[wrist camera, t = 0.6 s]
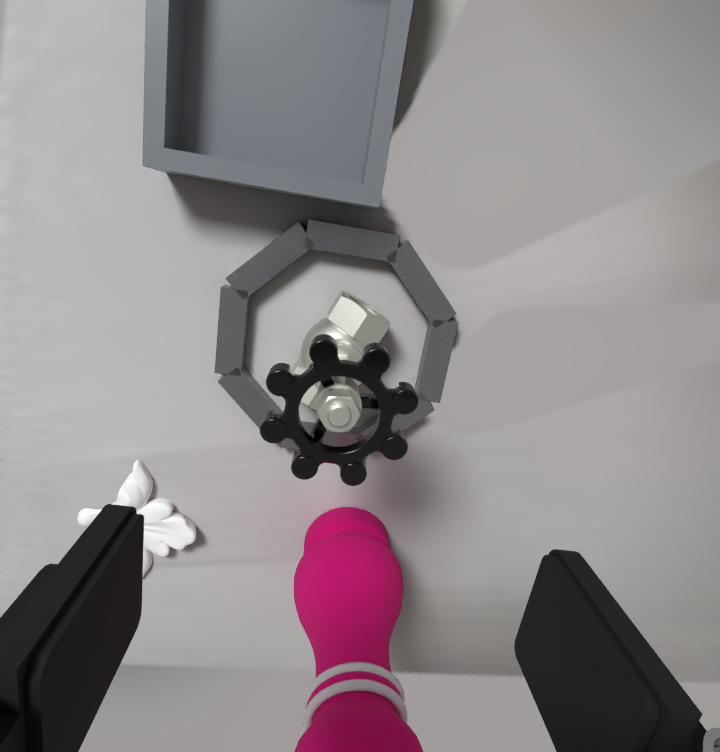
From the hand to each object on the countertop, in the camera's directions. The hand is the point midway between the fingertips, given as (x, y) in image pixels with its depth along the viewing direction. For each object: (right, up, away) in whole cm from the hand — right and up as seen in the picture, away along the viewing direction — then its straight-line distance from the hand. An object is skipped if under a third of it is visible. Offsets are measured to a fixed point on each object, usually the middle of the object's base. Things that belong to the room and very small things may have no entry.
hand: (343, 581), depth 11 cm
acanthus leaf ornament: (-15, -5, +23) cm, 29 cm away
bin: (-4, +22, +14) cm, 26 cm away
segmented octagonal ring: (-1, +7, +20) cm, 21 cm away
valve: (-1, +7, +20) cm, 21 cm away
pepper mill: (-1, -8, +25) cm, 26 cm away
